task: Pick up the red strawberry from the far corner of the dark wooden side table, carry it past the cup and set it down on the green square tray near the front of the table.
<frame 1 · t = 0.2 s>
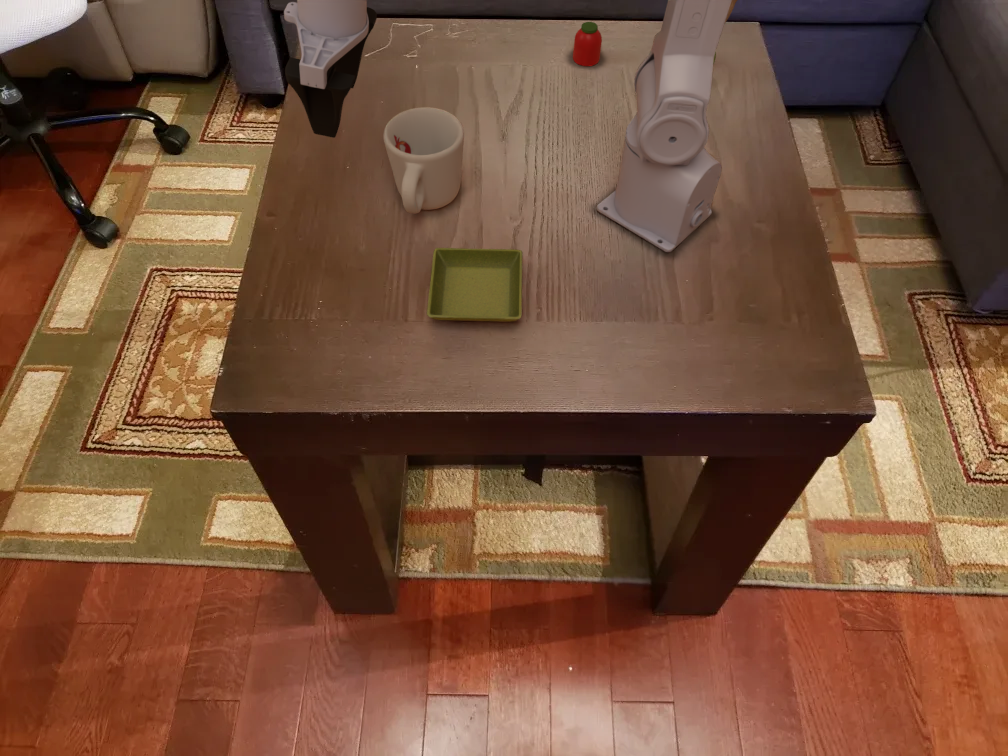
hand: (334, 108, 71), 10 cm above the table, tool pointing down, fingers open, 7 cm apart
snail figurine: (691, 77, 92), on the table
strawberry: (586, 58, 94), on the table
cup: (426, 203, 79), on the table
green square tray: (476, 297, 71), on the table
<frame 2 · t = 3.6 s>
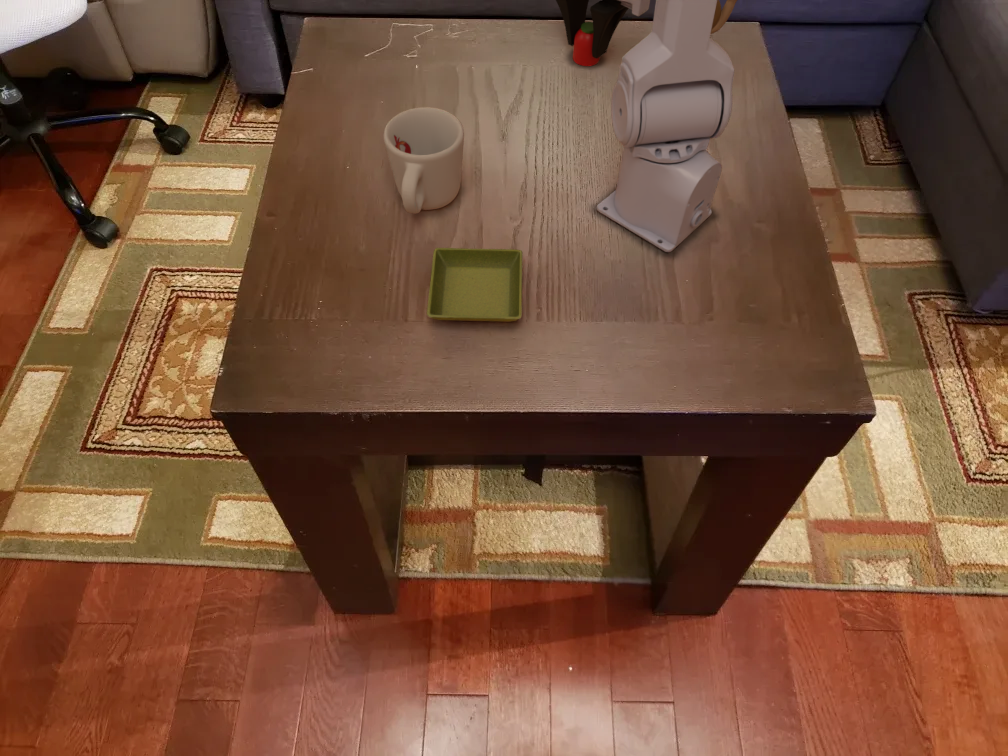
hand: (587, 48, 92), 1 cm above the table, tool pointing down, fingers closed on strawberry, 3 cm apart
strawberry: (586, 58, 94), on the table, touching gripper
everything else where it was.
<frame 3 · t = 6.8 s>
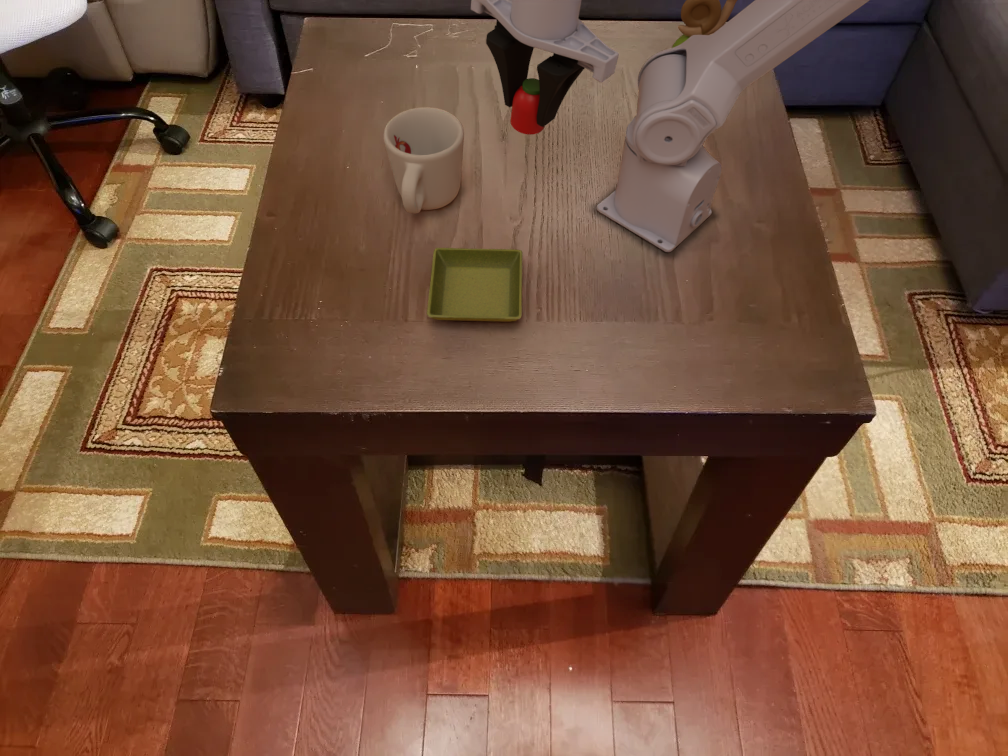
hand: (529, 111, 71), 10 cm above the table, tool pointing down, fingers closed on strawberry, 3 cm apart
strawberry: (527, 123, 72), point 9 cm above the table, tilted 5°, touching gripper
everything else where it was.
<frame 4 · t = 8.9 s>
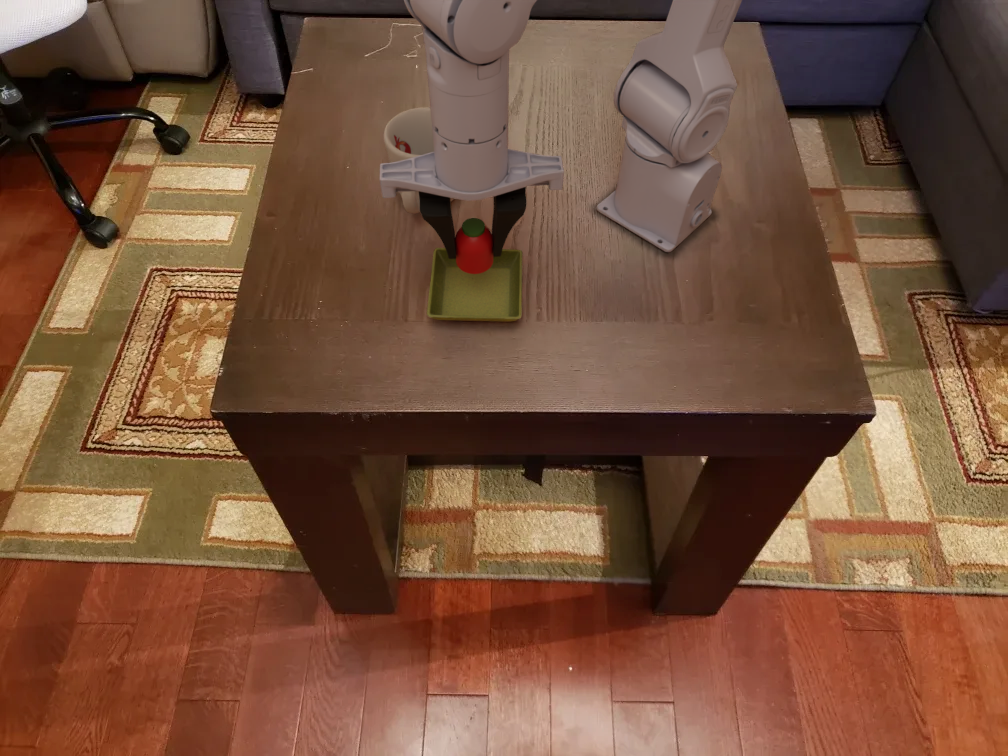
hand: (474, 249, 66), 6 cm above the table, tool pointing down, fingers closed on strawberry, 3 cm apart
strawberry: (474, 260, 67), point 5 cm above the table, touching gripper
everything else where it was.
when the fingers open (3 cm above the table, at t = 10.1 s): strawberry stays where it is, resting on green square tray.
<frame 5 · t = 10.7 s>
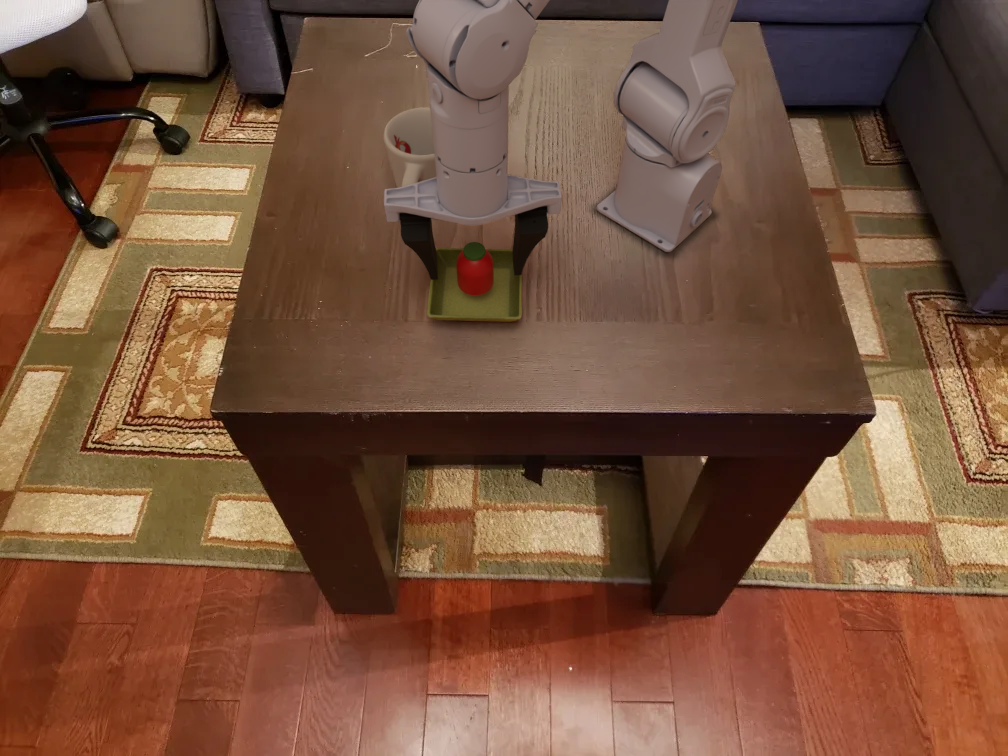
hand: (475, 269, 68), 4 cm above the table, tool pointing down, fingers open, 7 cm apart
strawberry: (475, 281, 70), point 2 cm above the table, touching green square tray
green square tray: (476, 297, 71), on the table, touching strawberry
everything else where it was.
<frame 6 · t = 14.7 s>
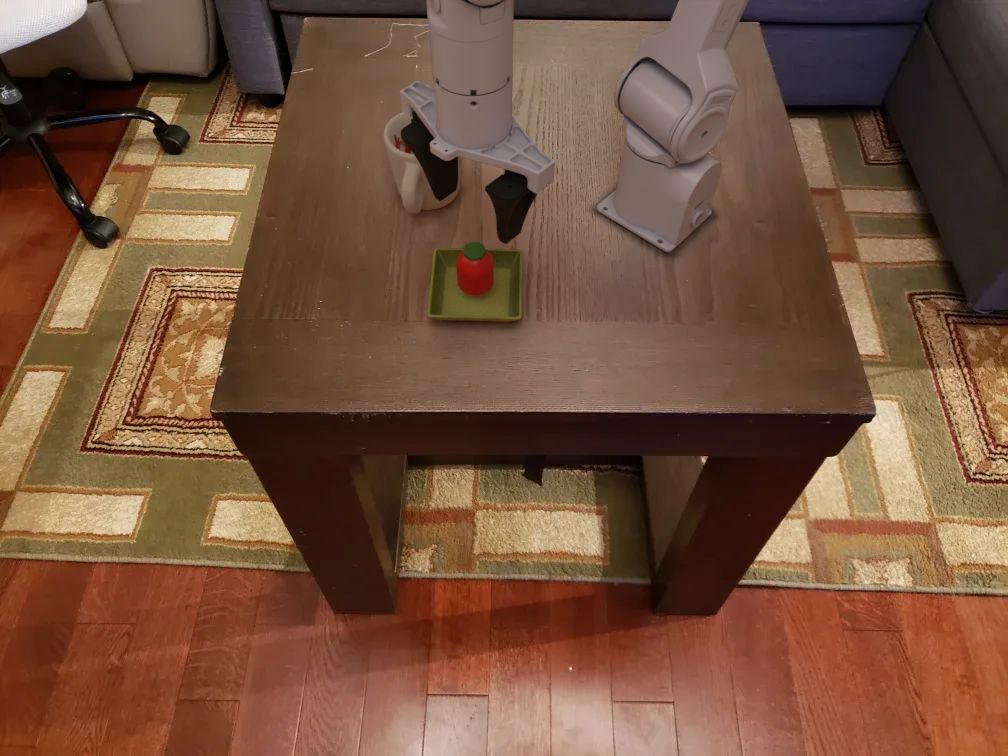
hand: (477, 214, 64), 10 cm above the table, tool pointing down, fingers open, 7 cm apart
nothing on the table moved.
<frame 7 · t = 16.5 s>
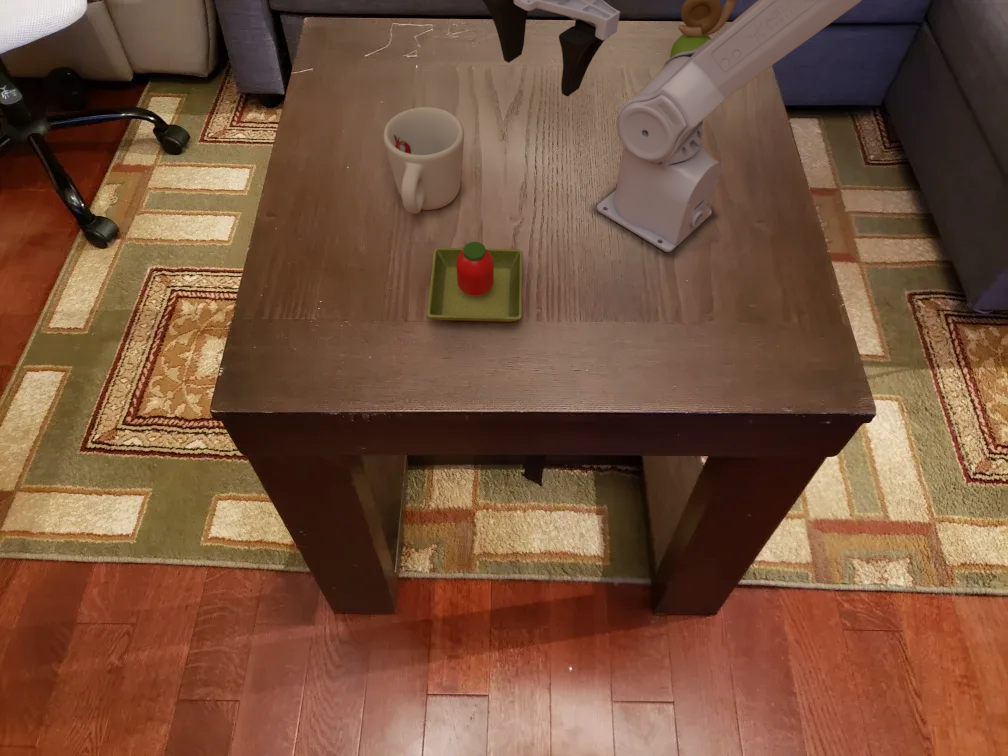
hand: (541, 73, 74), 10 cm above the table, tool pointing down, fingers open, 7 cm apart
nothing on the table moved.
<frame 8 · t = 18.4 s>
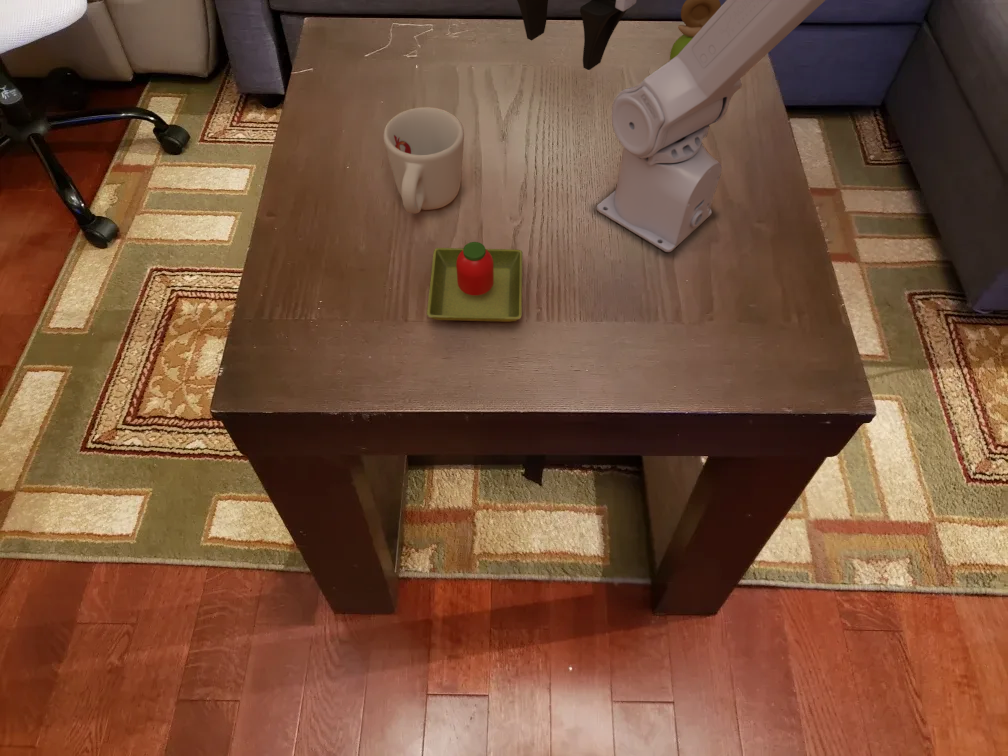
hand: (563, 50, 77), 10 cm above the table, tool pointing down, fingers open, 7 cm apart
nothing on the table moved.
at the end: strawberry 0.1 cm off-centre on the green square tray, point 2.3 cm above the green square tray's base; strawberry tilted 0° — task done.
